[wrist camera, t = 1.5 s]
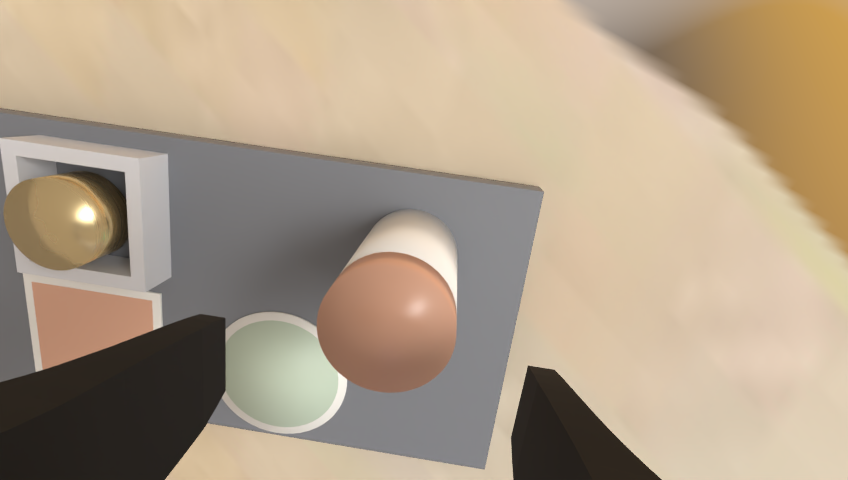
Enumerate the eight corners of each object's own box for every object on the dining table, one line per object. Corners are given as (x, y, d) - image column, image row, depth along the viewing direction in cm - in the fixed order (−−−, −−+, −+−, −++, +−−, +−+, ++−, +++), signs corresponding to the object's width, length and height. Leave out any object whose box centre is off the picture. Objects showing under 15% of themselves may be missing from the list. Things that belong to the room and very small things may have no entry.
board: (483, 451, 24) (486, 499, 21) (20, 375, 25) (-38, 410, 22) (538, 186, 20) (552, 200, 17) (-18, 105, 20) (-96, 105, 18)
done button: (134, 260, 20) (99, 277, 18) (53, 247, 20) (10, 263, 18) (129, 177, 19) (91, 185, 17) (44, 164, 19) (-3, 171, 17)
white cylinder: (450, 303, 20) (445, 402, 13) (360, 289, 20) (312, 381, 14) (464, 216, 19) (467, 277, 12) (369, 202, 19) (321, 255, 12)
